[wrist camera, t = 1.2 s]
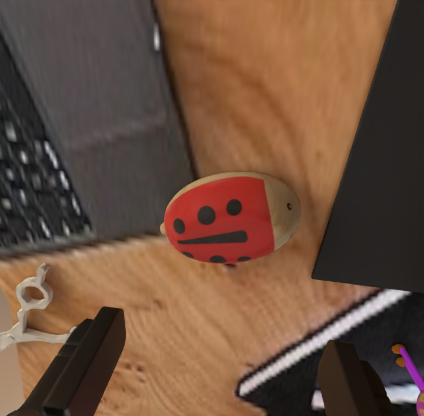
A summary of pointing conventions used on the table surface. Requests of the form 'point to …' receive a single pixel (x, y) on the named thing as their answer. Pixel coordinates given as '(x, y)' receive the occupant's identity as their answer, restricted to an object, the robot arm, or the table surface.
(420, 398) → the wizard figurine
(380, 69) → the desk pad
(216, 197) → the ladybug figurine
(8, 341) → the scissors
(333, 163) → the table surface
